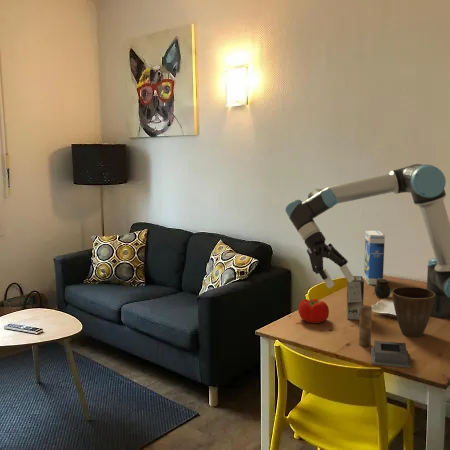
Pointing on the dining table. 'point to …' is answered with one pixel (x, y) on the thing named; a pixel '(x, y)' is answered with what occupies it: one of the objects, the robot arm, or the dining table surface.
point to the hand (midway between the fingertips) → (342, 283)
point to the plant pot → (413, 309)
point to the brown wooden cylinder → (365, 326)
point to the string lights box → (374, 256)
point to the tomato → (313, 310)
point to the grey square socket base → (390, 354)
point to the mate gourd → (382, 288)
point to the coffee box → (355, 297)
